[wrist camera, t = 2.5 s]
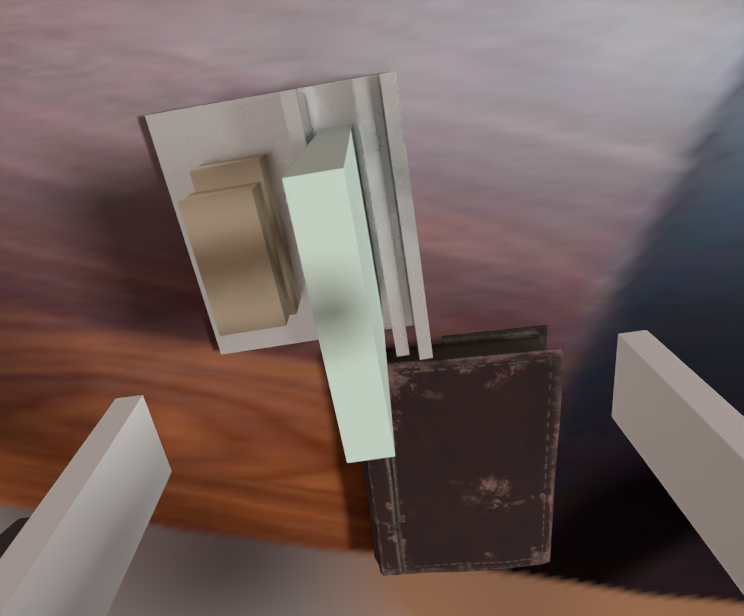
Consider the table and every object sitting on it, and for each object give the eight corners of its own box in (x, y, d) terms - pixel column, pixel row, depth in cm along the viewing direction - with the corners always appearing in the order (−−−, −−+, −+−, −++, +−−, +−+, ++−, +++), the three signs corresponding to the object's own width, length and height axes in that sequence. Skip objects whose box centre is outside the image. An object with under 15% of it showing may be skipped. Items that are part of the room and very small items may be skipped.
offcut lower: (300, 299, 44) (296, 314, 41) (242, 308, 44) (234, 323, 41) (266, 153, 39) (258, 159, 36) (201, 164, 39) (188, 171, 36)
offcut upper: (291, 309, 41) (286, 325, 38) (229, 318, 41) (219, 336, 38) (259, 181, 37) (251, 190, 34) (191, 193, 37) (177, 202, 34)
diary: (375, 539, 57) (375, 579, 53) (348, 340, 47) (346, 368, 43) (544, 526, 57) (560, 566, 52) (554, 321, 47) (575, 348, 42)
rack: (423, 318, 46) (433, 357, 39) (224, 349, 47) (202, 392, 40) (389, 72, 38) (395, 71, 31) (149, 114, 38) (107, 122, 32)
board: (381, 297, 44) (395, 456, 25) (353, 302, 44) (347, 463, 26) (352, 124, 38) (343, 168, 20) (319, 129, 38) (281, 178, 20)
